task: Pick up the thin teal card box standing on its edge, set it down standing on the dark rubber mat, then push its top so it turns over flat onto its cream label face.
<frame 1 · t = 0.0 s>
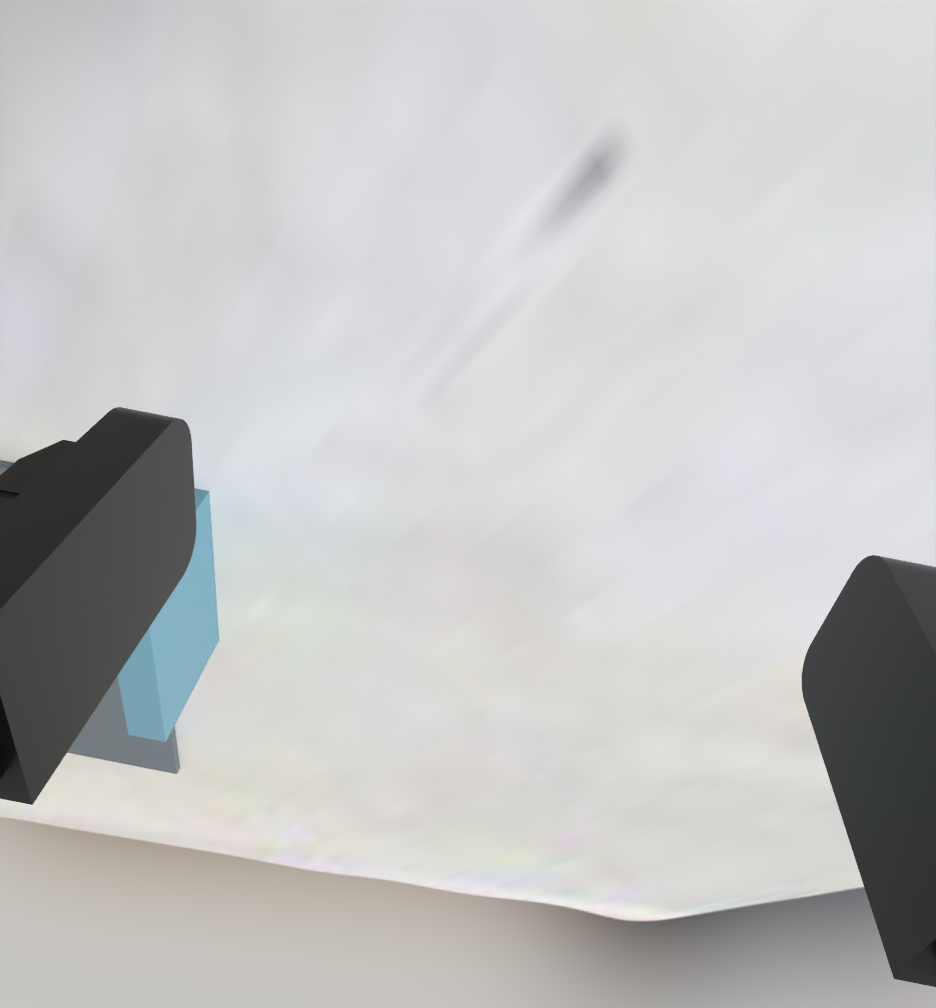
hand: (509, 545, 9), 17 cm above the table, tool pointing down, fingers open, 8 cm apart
card box: (197, 566, 34), on the table
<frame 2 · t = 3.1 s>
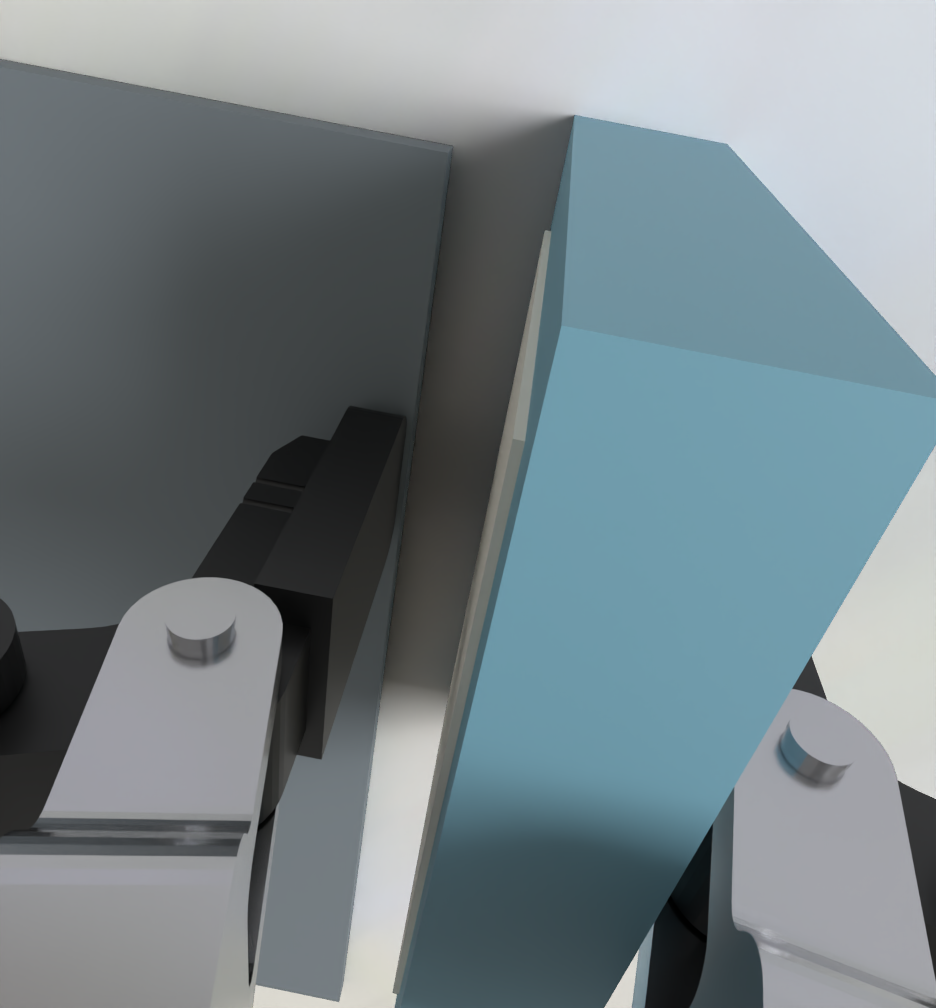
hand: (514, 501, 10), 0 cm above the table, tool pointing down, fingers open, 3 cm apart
card box: (555, 484, 11), on the table
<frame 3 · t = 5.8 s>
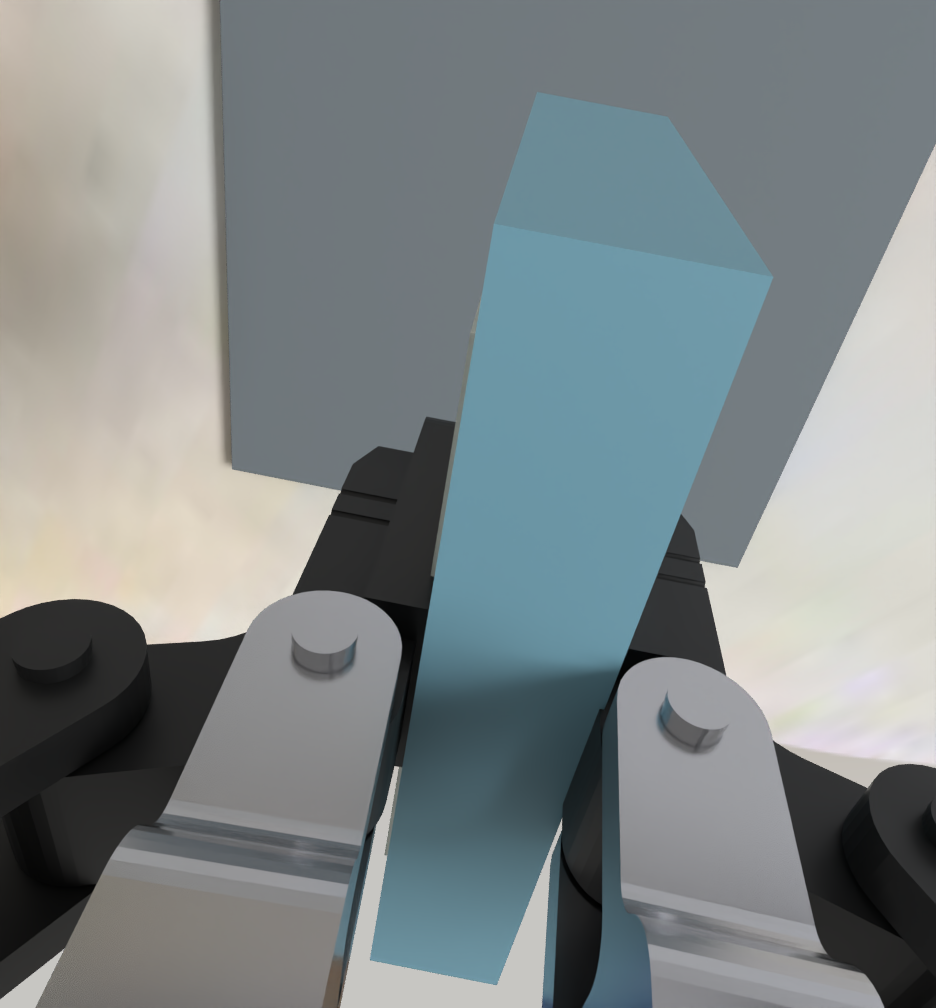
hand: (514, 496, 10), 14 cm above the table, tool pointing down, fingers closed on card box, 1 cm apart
card box: (528, 426, 12), point 12 cm above the table, touching gripper
mat: (545, 225, 21), on the table
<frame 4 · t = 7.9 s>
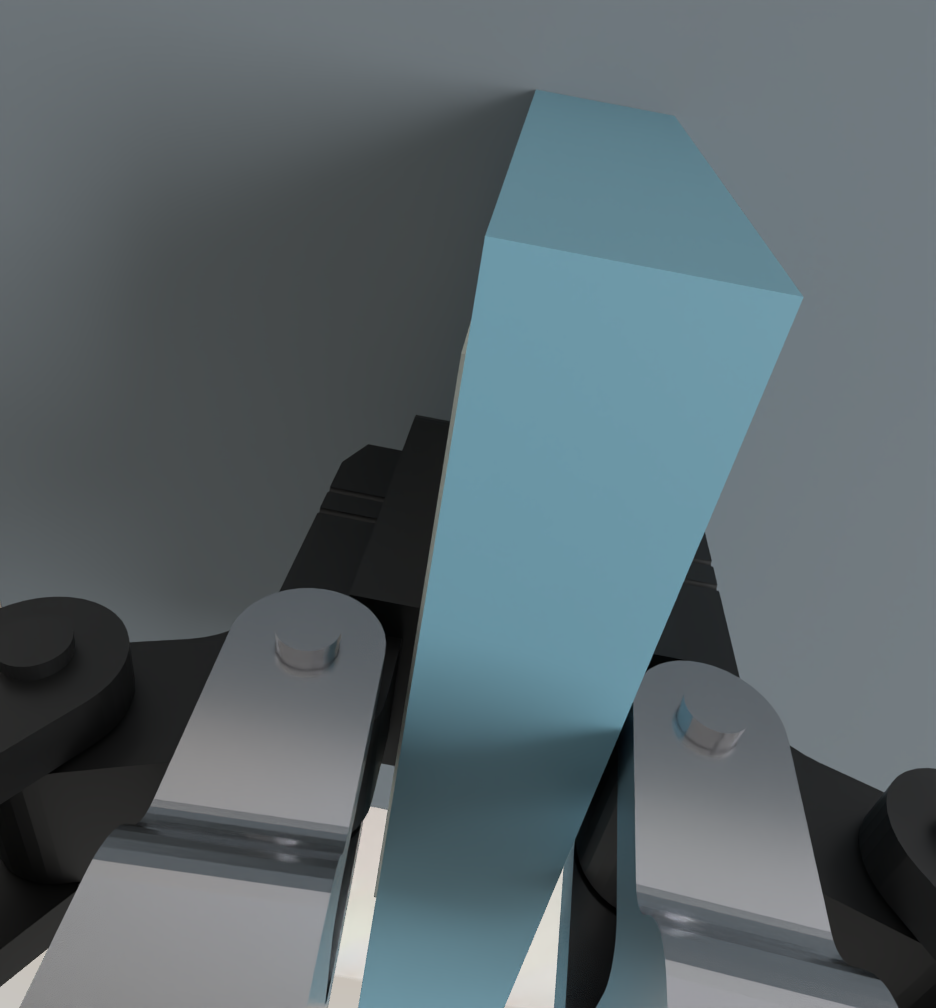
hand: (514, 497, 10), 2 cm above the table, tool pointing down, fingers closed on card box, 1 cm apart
card box: (527, 440, 11), resting on mat, touching gripper
mat: (525, 418, 12), on the table
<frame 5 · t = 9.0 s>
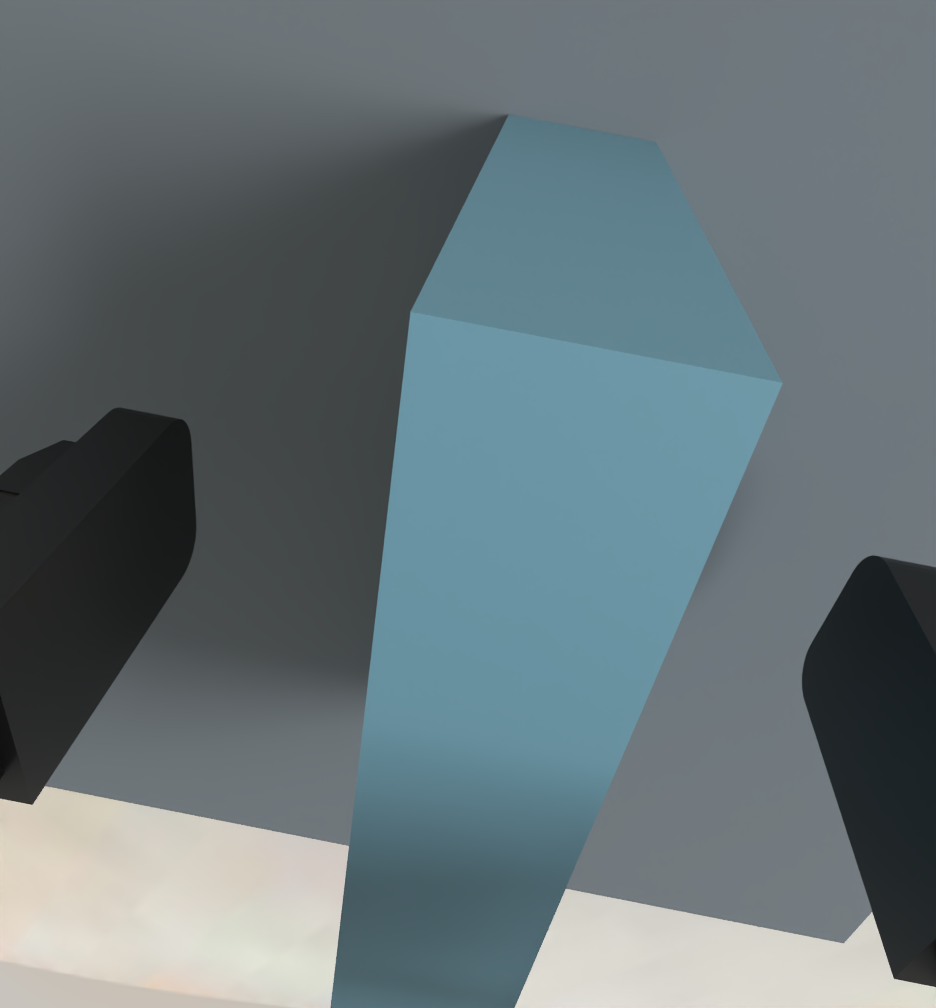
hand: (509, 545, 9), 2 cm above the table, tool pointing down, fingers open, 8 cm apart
card box: (506, 477, 11), resting on mat
mat: (519, 457, 11), on the table
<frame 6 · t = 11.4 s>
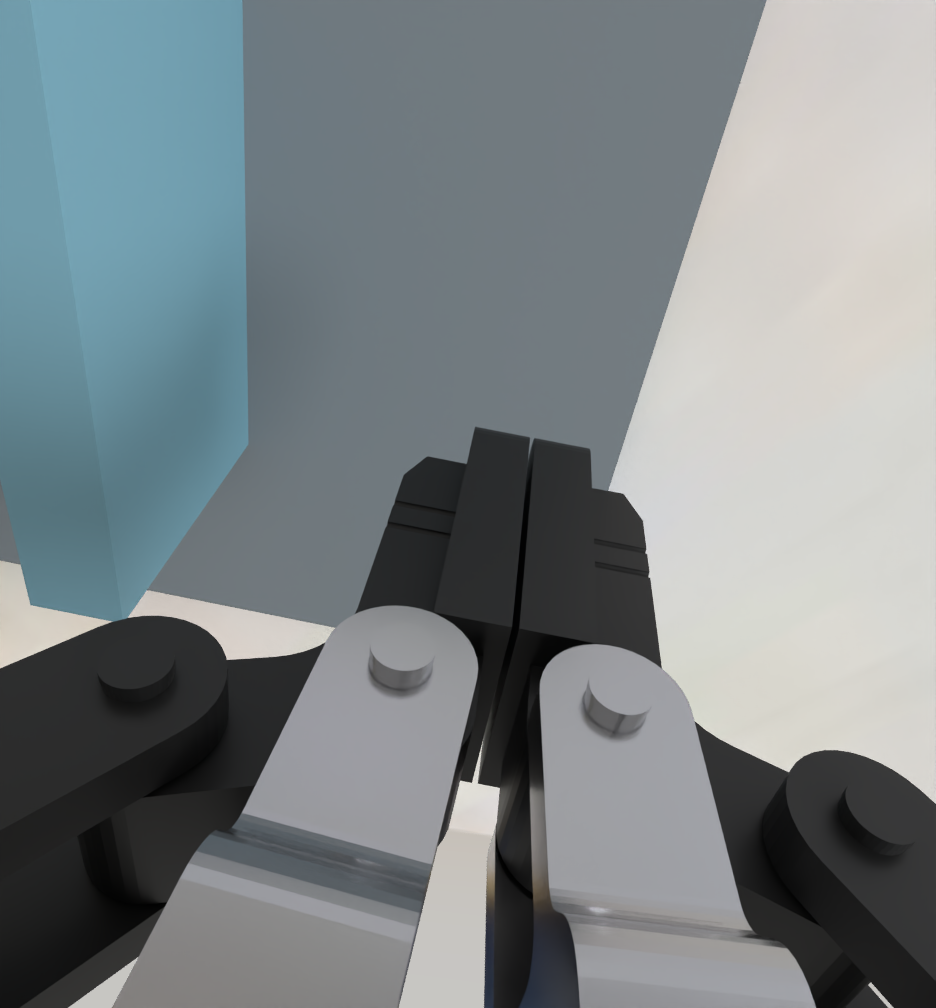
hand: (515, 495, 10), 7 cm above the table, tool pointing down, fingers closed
card box: (206, 244, 15), resting on mat
mat: (220, 234, 15), on the table
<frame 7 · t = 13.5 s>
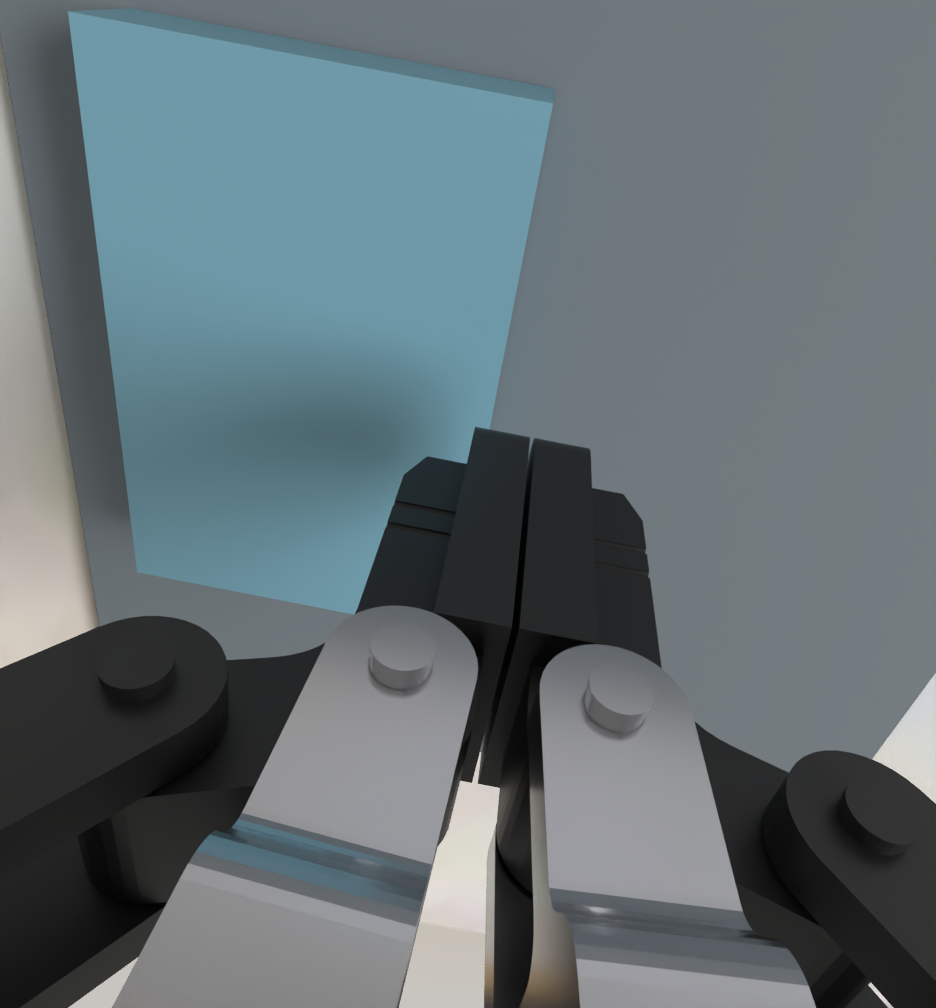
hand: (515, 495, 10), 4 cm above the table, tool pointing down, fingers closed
card box: (494, 402, 12), point 1 cm above the table, tilted 90°, touching mat
mat: (556, 374, 13), on the table
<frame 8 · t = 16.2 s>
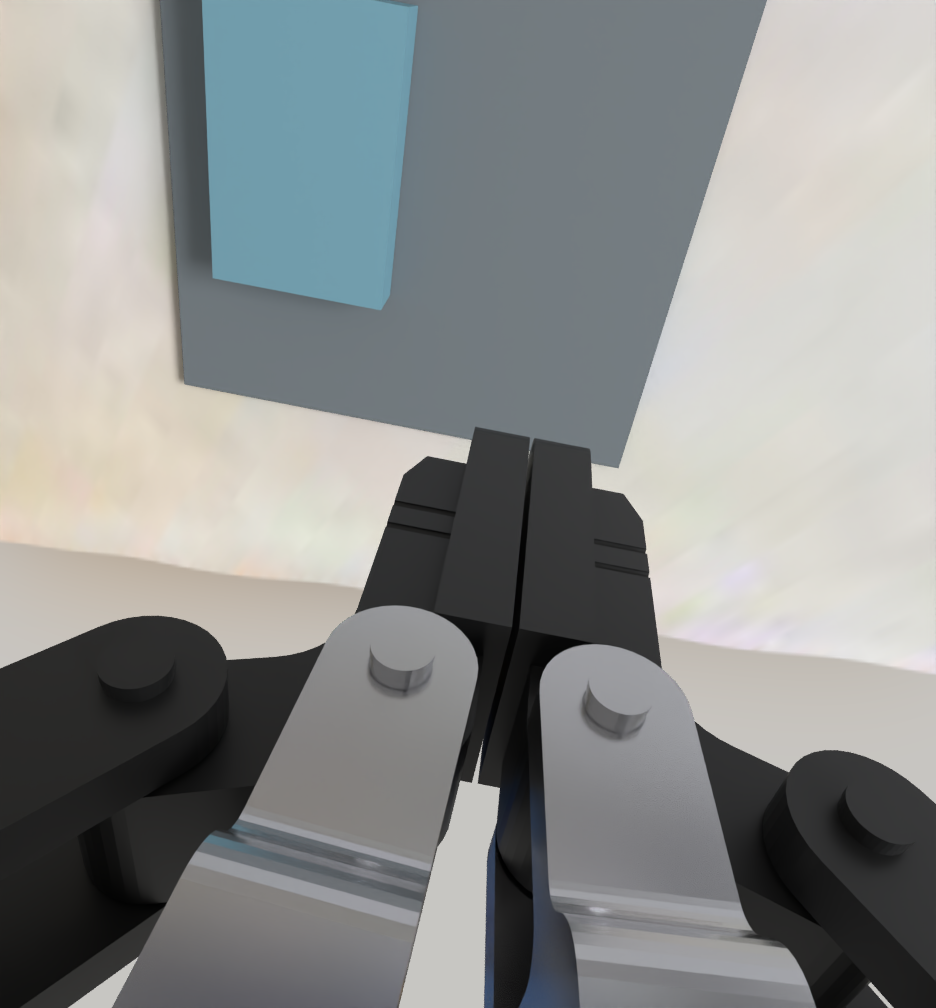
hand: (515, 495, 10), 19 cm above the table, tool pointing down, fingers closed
card box: (398, 169, 25), point 1 cm above the table, tilted 90°, touching mat
mat: (433, 163, 26), on the table
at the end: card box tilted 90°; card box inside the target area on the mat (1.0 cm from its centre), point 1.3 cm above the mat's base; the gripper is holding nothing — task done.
